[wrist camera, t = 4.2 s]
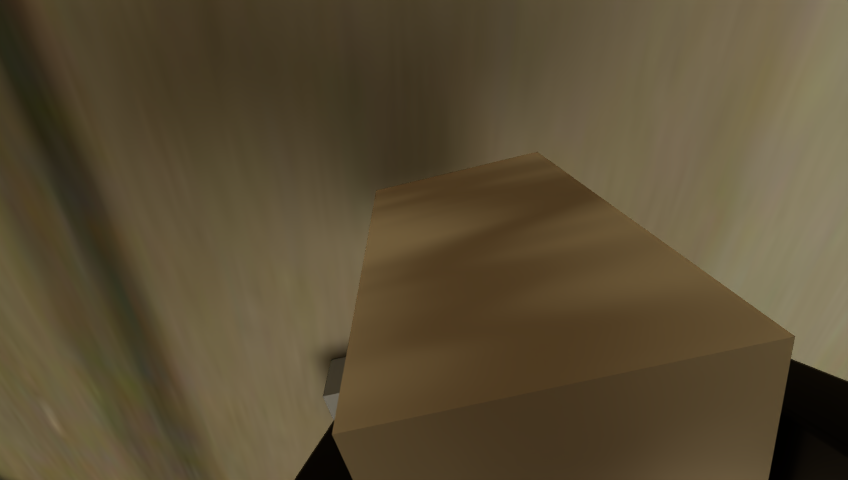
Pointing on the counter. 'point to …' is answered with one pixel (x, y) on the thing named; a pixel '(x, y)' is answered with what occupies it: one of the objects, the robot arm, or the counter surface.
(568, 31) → the counter surface
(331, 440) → the robot arm
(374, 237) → the oak block
